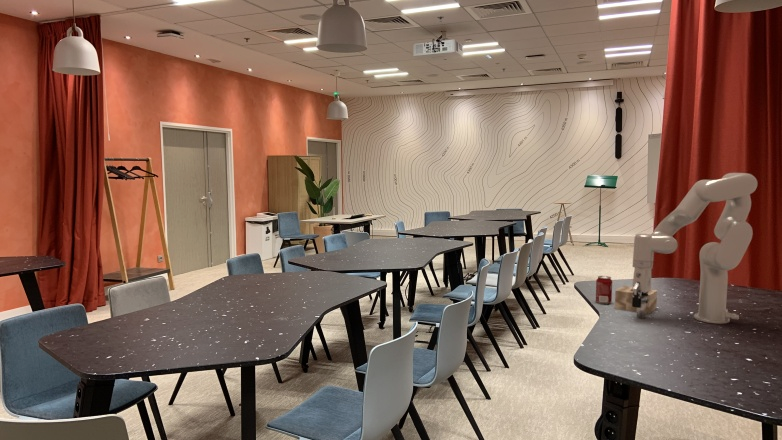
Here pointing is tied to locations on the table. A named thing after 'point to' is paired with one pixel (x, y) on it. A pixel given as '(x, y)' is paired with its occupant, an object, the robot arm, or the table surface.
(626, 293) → the block
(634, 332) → the table surface
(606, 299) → the soda can
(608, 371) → the table surface
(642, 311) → the pin
